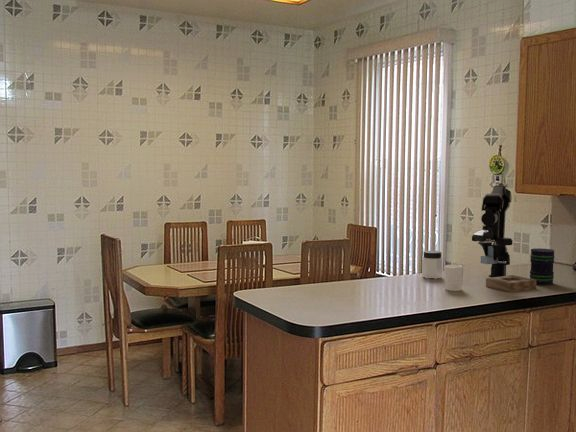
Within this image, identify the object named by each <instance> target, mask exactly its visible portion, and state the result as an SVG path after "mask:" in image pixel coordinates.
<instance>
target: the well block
mask: <svg viewBox="0 0 576 432" xmlns="http://www.w3.org/2000/svg"><path fill="white" fill-rule="evenodd" d="M485 287H486V288H491V289H494V290H495V289H496V290H500V291H503V292H506V293H507V292H508V293H510V292H511V293H513V292H520V291H528V290H534V289H537V285H536V280H534V279H530V277H529V278H528V277H523V276H518V275H514V274H511V275H506V276H501V277H486V278H485Z"/></svg>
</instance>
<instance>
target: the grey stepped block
mask: <svg viewBox="0 0 576 432" xmlns="http://www.w3.org/2000/svg"><path fill="white" fill-rule="evenodd" d="M498 262H499V261H498V257H497V259H496V260H494V259H493V247H492V246H488V256H485V255H481V256H480V264H483V265H492V264H496V263H498Z"/></svg>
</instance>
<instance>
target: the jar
mask: <svg viewBox="0 0 576 432" xmlns="http://www.w3.org/2000/svg"><path fill="white" fill-rule="evenodd" d="M442 257H443V256H442V251H439V250H424V251H423V256H422V262H421V264H422V265H421V267H422V268H421V269H422V271H421V276H423V278H424V277H425V278H424V279H427V278H434V279H433V280H438V279H437V278H439V279H443V258H442Z"/></svg>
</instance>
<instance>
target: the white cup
mask: <svg viewBox="0 0 576 432" xmlns="http://www.w3.org/2000/svg"><path fill="white" fill-rule="evenodd" d="M443 268H444V269H443V270H444V273H443V276H444V289H446V291H448V290H449V291H450V292H461V291H462V287H463V281H464V271H465V270H464V269H465V268H464V266H463V265H460V264H446V265H444V266H443ZM449 291H448V292H449Z"/></svg>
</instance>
